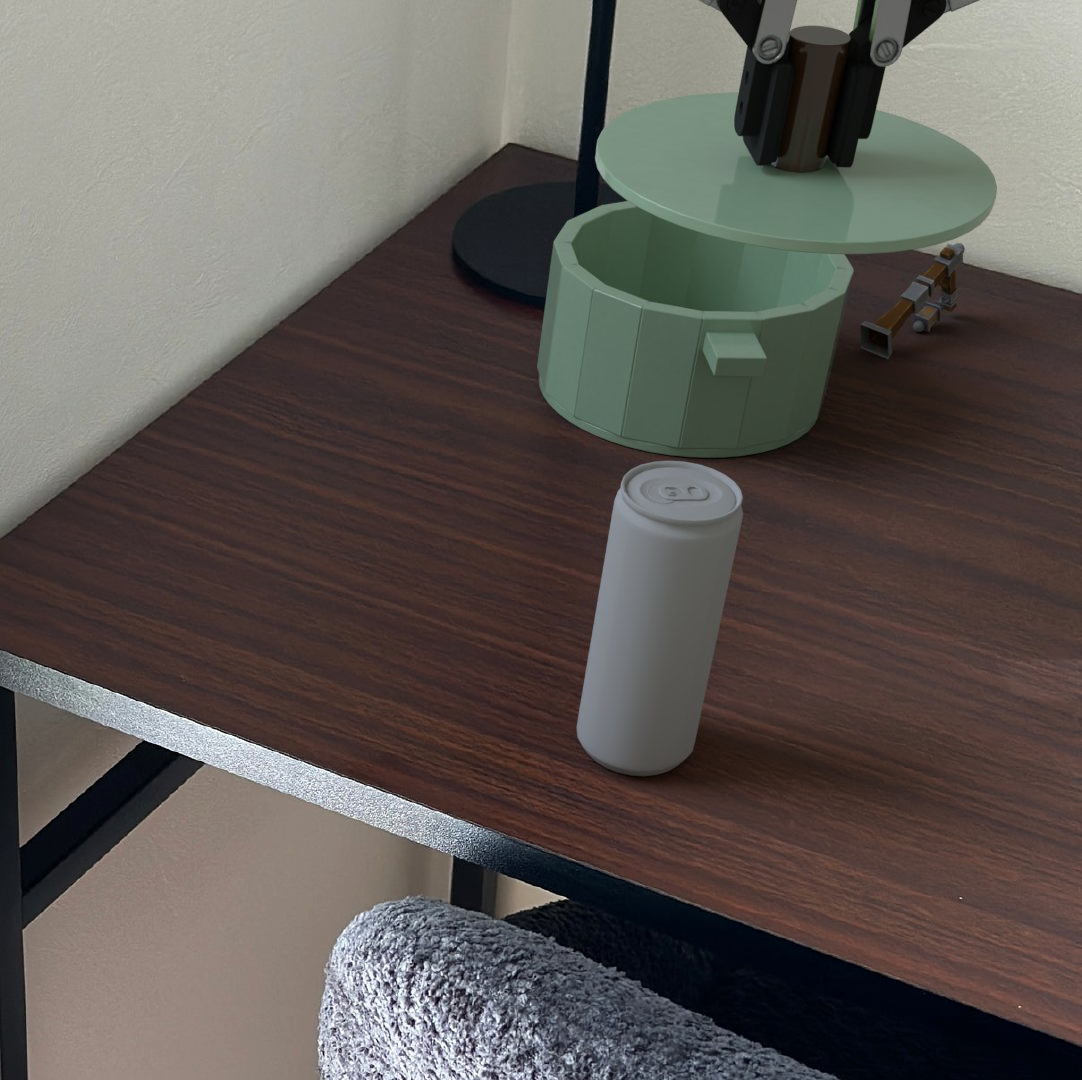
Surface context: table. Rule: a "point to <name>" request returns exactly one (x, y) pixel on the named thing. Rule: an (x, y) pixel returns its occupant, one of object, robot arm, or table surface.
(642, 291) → the pot
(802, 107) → the lid
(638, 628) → the beverage can
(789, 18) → the robot arm
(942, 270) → the toy blunderbuss gun
